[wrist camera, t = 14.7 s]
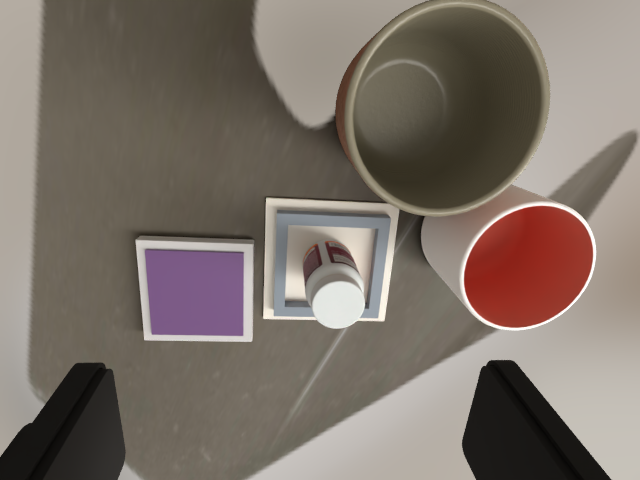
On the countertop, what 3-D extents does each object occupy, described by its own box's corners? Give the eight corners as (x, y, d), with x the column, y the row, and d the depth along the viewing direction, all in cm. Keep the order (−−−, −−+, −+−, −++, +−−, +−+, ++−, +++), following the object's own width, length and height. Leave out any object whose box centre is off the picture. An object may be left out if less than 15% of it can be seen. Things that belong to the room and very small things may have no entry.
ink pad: (140, 235, 36) (134, 241, 34) (254, 239, 37) (252, 245, 35) (148, 333, 39) (143, 342, 38) (252, 334, 40) (251, 343, 38)
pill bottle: (312, 292, 38) (318, 341, 31) (295, 248, 37) (297, 289, 29) (359, 275, 38) (377, 321, 30) (344, 231, 37) (359, 267, 29)
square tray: (266, 197, 35) (265, 201, 34) (399, 203, 37) (403, 207, 35) (263, 317, 39) (262, 325, 38) (383, 319, 40) (387, 327, 39)
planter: (306, 157, 35) (315, 182, 24) (357, 3, 31) (392, -44, 21) (435, 200, 37) (492, 240, 26) (496, 61, 33) (590, 44, 23)
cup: (461, 153, 35) (524, 172, 26) (541, 210, 38) (626, 247, 28) (395, 244, 38) (431, 292, 28) (474, 292, 40) (531, 352, 31)
